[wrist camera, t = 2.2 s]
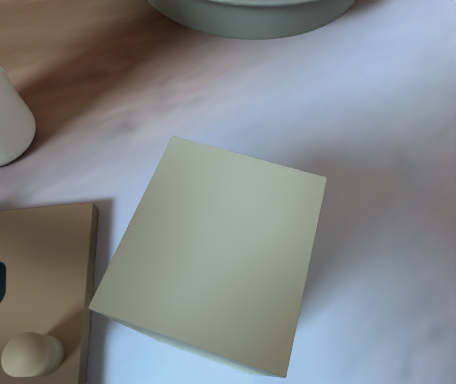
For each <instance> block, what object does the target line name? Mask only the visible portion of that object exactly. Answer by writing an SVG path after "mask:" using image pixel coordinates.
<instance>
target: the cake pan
mask: <svg viewBox="0 0 456 384" xmlns="http://www.w3.org/2000/svg"><path fill="white" fill-rule="evenodd" d="M147 1H148V2H149V3H150V4H151V5H152V6H153V7H154V8H155V9H157V10H158V11H159V12H160V13H162V14H163V15H165V16H166V17H168V18H170V19H171V20H173V21H175V22H177V23H179V24H181V25H184V26H186V27H189V28H191V29H194V30H197V31H200V32H203V33H207V34H211V35H215V36H221V37H227V38H235V39H248V40H262V39H276V38H283V37H290V36H295V35H299V34H303V33H306V32H309V31H312V30H315V29H318V28H320V27H323V26H325V25H327V24H328V23H330V22H332V21H334V20H335V19H337V18H338V17H340V16H341V15H342V14H344V13H345V12H346V11H347V10H348V9H349V8H350V7H351V6H352V5H353V3H354V2H355V1H356V0H147Z"/></svg>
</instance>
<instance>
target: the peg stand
mask: <svg viewBox="0 0 456 384" xmlns="http://www.w3.org/2000/svg"><path fill="white" fill-rule="evenodd" d="M98 212H99V210H98V208H97V207H96V206H95V204H94V203H93V202H91V203H80V204H69V205H58V206H47V207H36V208H25V209H14V210H3V211H0V261H1V262H3V263H5V265H6V269H7V270H6V294H5V296H4V298H3V300H2V302H1V303H0V384H86V378H87V364H88V350H89V336H90V323H91V309H89V308H88V307H89V305H90V303H91V301H92V295H93V281H94V267H95V254H96V240H97V226H98Z"/></svg>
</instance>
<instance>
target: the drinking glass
mask: <svg viewBox="0 0 456 384" xmlns="http://www.w3.org/2000/svg"><path fill="white" fill-rule="evenodd" d="M35 131H36V122H35V118H34V116H33V114H32V112H31V110H30V109H29V108H28V106H27V105H26V103H25V102H24V101H23V99H22V98H21V97H20V95H19V94H18V92H17V91H16V89H15V87H14V86H13V84H12V82H11V81H10V79H9V77H8V76H7V74H6V72H5V71H4V69H3V67H2V66H1V64H0V166H2V165H5V164H7V163H9V162H11V161H13V160H15V159H16V158H18V157H19V156H20V155H21V154H22V153H24V151H25V150H26V149H27V148H28V147H29V145H30V144H31V142H32V140H33V138H34V136H35Z"/></svg>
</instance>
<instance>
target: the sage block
mask: <svg viewBox="0 0 456 384" xmlns="http://www.w3.org/2000/svg"><path fill="white" fill-rule="evenodd" d="M326 180H327V177H324V176H320V175H316V174H313V173H309V172H305V171H301V170H298V169H294V168H290V167H287V166H283V165H279V164H276V163H272V162H268V161H264V160H261V159H257V158H253V157H250V156H246V155H242V154H239V153H235V152H231V151H227V150H224V149H220V148H216V147H213V146H209V145H205V144H202V143H198V142H194V141H191V140H187V139H183V138H179V137H176V136H172V138H171V140H170V142H169V144H168V146H167V148H166V150H165V152H164V154H163V156H162V158H161V160H160V162H159V164H158V166H157V168H156V170H155V173H154V175H153V177H152V179H151V181H150V183H149V185H148V187H147V189H146V191H145V193H144V195H143V197H142V199H141V201H140V203H139V205H138V207H137V209H136V211H135V213H134V215H133V217H132V219H131V221H130V223H129V225H128V227H127V229H126V232H125V234H124V236H123V238H122V240H121V242H120V244H119V246H118V248H117V250H116V252H115V254H114V256H113V258H112V260H111V262H110V264H109V266H108V268H107V270H106V272H105V274H104V276H103V278H102V280H101V282H100V284H99V286H98V288H97V291H96V293H95V295H94V297H93V299H92V301H91V303H90V305H89V307H88V308H89V309H91V310H93V311H95V312H97V313H99V314H102V315H104V316H106V317H108V318H110V319H112V320H114V321H116V322H119V323H121V324H123V325H125V326H127V327H129V328H131V329H133V330H136V331H138V332H140V333H142V334H144V335H146V336H148V337H150V338H152V339H155V340H157V341H159V342H161V343H164V344H167V345H170V346H172V347H175V348H178V349H181V350H184V351H186V352H189V353H192V354H195V355H198V356H201V357H203V358H206V359H209V360H212V361H215V362H217V363H220V364H223V365H226V366H229V367H231V368H234V369H237V370H240V371H243V372H245V373H248V374H254V375H264V376H273V377H283V378H286V375H287V370H288V365H289V361H290V356H291V351H292V346H293V341H294V336H295V331H296V326H297V322H298V317H299V312H300V307H301V302H302V297H303V292H304V287H305V283H306V278H307V273H308V268H309V263H310V258H311V253H312V248H313V243H314V239H315V234H316V229H317V224H318V219H319V214H320V209H321V204H322V200H323V195H324V190H325V185H326Z"/></svg>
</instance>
